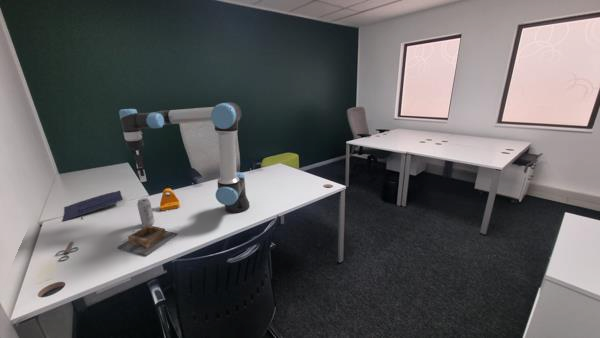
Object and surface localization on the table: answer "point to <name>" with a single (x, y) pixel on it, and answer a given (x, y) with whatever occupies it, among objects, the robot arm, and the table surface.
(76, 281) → the table surface
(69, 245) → the grey scissors
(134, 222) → the table surface
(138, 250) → the can holder
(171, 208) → the bracket
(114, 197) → the navy blue flat panel
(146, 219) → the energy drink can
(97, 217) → the table surface
